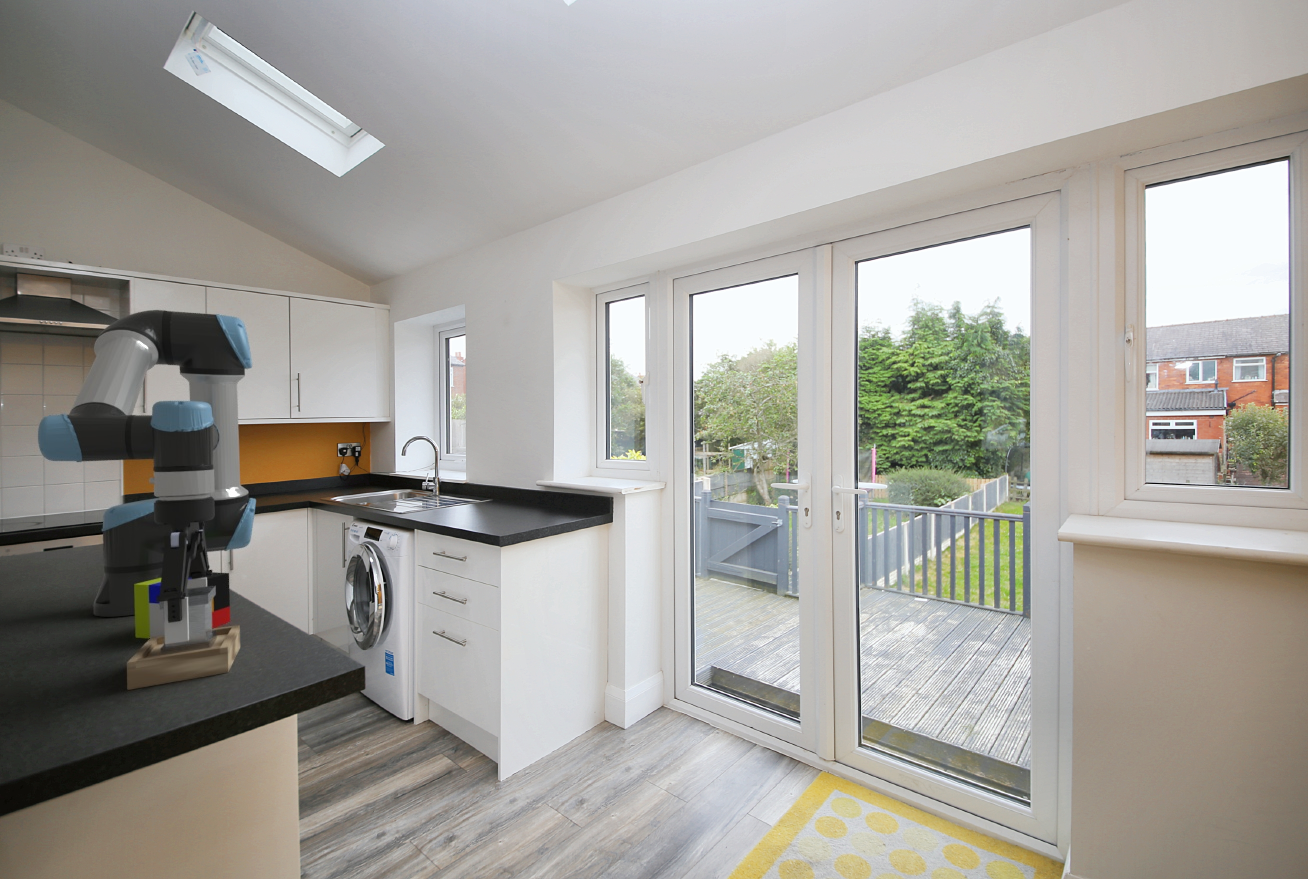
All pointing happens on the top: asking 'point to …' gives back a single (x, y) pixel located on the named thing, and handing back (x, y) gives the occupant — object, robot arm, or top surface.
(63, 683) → the top surface
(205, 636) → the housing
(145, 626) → the puzzle toy
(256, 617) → the top surface
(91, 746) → the top surface
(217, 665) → the tray
